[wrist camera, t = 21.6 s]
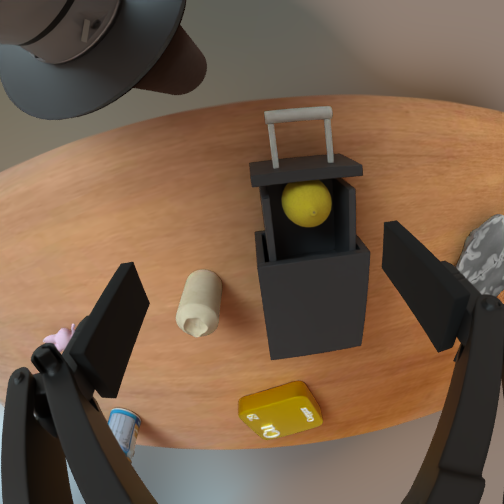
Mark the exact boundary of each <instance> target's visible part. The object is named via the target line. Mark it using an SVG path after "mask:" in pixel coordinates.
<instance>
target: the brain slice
mask: <svg viewBox="0 0 504 504" xmlns="http://www.w3.org/2000/svg"><path fill="white" fill-rule="evenodd" d="M469 235H470V236H468V237H467V239H466V240H465V245H464V249H463V251H462V254H461V256H460V259H459V261H458V263H457V265H456V268H457V269H458V270H459V271H460V273H462V274H463V275H464V276H465V278H467V279H468V280H469V281H470V282H471V283H472V285H473V286H474V287H475V288H476V289H477V290H478V291H479V292H480V293H481V294H482V295H483V294H489V295H492V296H495V297H497V296H498V295H499V294H500V292H501V291H503V290H504V216H503V215H501V214H497V215H494V216H492V217H491V218H489V219H488V220H487V221H486V222H484V223H483V224H482V225H481V226H480V227H479V228H477V229H475V230H473V231H471V232H470V234H469Z"/></svg>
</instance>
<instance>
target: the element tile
mask: <svg viewBox="0 0 504 504" xmlns="http://www.w3.org/2000/svg"><path fill="white" fill-rule="evenodd" d="M238 415H239V418H240V419H241V420H242V421H243V422H244V423H245V424H246V425H247V426H249V427H250V428H251V429H252V430H253V431H254V432H255V433H256V434H257V435H258V436H260V437H261V438H262V439H265V440H270V439H275V438H279V437H283V436H287V435H291V434H294V433H298V432H302V431H305V430H308V429H312V428H315V427H318V426H320V425H321V424H322V423H323V419H322V414H321V409H320V407H319V405H318V403H317V402H316V400H315V399H314V397H313V395H312V394H311V392H310V391H309V389H308V387H307V386H306V384H305V383H304V382H302V381H294V382H291V383H287V384H284V385H281V386H278V387H275V388H272V389H268V390H265V391H262V392H258V393H255V394H251V395H248V396H244V397H242V398H240V399H239V401H238Z"/></svg>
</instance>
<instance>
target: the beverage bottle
mask: <svg viewBox="0 0 504 504" xmlns="http://www.w3.org/2000/svg"><path fill="white" fill-rule="evenodd" d="M140 424H141V420H140V418H139V416H138V415H136V414H135V413H133V412H132V411H129V410H127V409H123V408H115V409H113V410H112V411H111V413H110V417H109V420H108V425H109V427H110V429H111V430H112V432H113V434H114V436H115V438H116V440H117V441H118V443H119V445H120V447H121V448H122V450H123V452H124V453H125V455H126V457H127V458H128V460H129V462H130V463H132V462H131V458H132V457H133V456H134V448H135V443H136V439H137V434H138V430H139V427H140Z"/></svg>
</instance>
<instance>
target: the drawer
mask: <svg viewBox="0 0 504 504" xmlns="http://www.w3.org/2000/svg"><path fill="white" fill-rule="evenodd" d="M332 116H333V113H332V108H331V107H330V106H324V107H306V108H293V109H282V110H272V111H264V118H265V123H266V124H268V131H269V139H270V146H271V154H272V160H268V161H260V162H252V163H249V166H250V177H251V184H252V187H259V190H260V197H261V205H262V212H263V220H264V227H265V235H266V243H267V251H268V259H269V262H273V261H280V260H288V259H295V258H303V257H310V256H317V255H325V254H332V253H339V252H346V251H353V250H356V190H355V188H354V187H352V186H351V185H350V184H348V183H347V182H346V181H345V180H343V179H342V177H354V176H363V168H362V165H361V164H359V163H358V162H356V161H354V160H352V159H350V158H348V157H346V156H344V155H342V154H333V143H332V132H331V121H330V119H332ZM320 119H324V127H325V137H326V148H327V155H315V156H304V157H294V158H285V159H278V154H277V145H276V137H275V130H274V124H273V123H283V122H293V121H306V120H320ZM311 180H320V181H321V182H322V183H323V184H324V185H325V186H326V187H327V189H328V191H329V193H330V195H331V201H332V205H331V211H330V214H329V216H328V217H327V219H326V220H325V221H324V222H323V223H321V224H319V225H318V226H314V227H302V226H299V225H297V224H295V223H294V222H292V221H291V220H290V219H289V218H288V217H287V215H286V214H285V212H284V210H283V207H282V200H281V198H282V193H283V190H284V188H285V186H286V185H287V184H288V183H292V182H301V181H311Z"/></svg>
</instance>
